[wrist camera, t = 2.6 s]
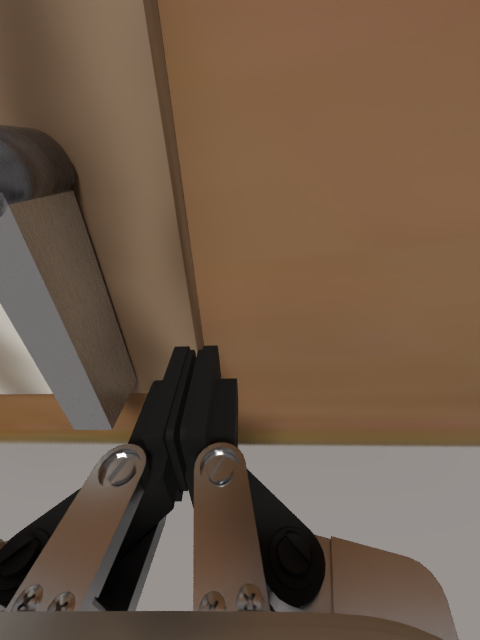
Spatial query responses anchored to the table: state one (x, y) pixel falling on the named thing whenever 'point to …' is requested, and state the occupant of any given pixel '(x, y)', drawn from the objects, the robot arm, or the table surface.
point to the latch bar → (58, 282)
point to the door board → (107, 166)
